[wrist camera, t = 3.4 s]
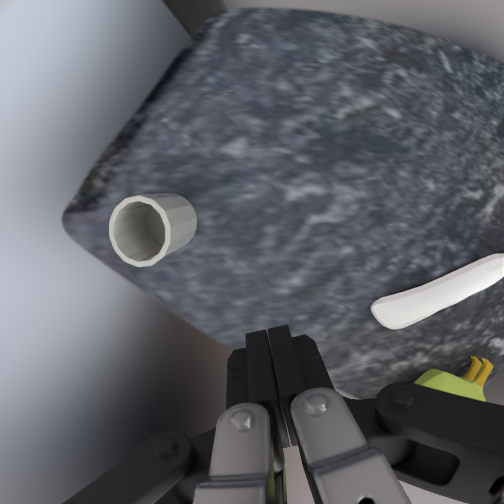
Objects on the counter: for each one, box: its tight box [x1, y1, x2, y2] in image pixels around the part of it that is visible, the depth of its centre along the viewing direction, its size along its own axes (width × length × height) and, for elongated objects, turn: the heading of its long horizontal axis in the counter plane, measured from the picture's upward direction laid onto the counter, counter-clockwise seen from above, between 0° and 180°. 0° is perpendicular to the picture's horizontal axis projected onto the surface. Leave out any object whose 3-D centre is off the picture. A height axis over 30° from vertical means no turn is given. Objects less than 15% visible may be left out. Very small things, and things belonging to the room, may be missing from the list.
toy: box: [414, 356, 493, 402], centre depth 28 cm, size 6×17×20 cm
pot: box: [109, 193, 197, 267], centre depth 28 cm, size 6×6×8 cm
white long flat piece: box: [371, 253, 504, 329], centre depth 28 cm, size 28×4×2 cm, turn 111°
